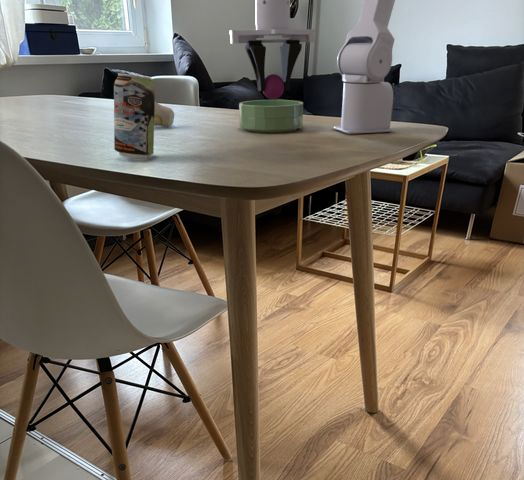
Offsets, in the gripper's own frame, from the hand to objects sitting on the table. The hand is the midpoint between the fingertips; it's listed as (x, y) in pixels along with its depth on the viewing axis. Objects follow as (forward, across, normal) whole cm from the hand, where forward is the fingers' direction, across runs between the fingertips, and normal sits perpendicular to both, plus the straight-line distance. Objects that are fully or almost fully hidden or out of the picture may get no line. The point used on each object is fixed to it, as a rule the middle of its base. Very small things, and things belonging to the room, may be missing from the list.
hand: (273, 90), depth 91 cm
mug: (+8, -20, +26) cm, 34 cm away
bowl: (+8, +4, +14) cm, 17 cm away
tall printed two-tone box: (+8, -25, -9) cm, 28 cm away
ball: (-1, 0, 0) cm, 1 cm away
